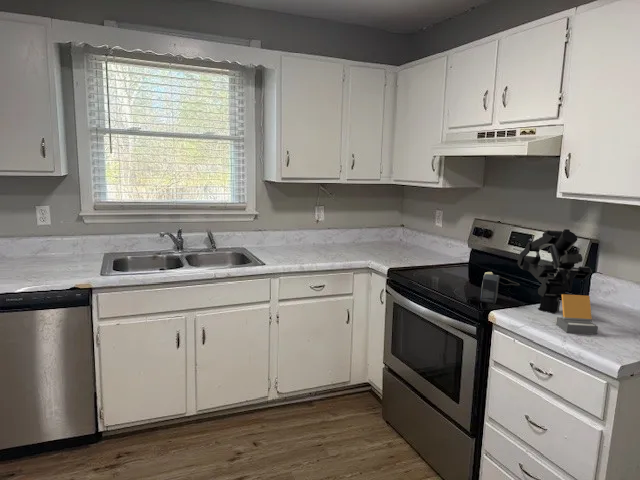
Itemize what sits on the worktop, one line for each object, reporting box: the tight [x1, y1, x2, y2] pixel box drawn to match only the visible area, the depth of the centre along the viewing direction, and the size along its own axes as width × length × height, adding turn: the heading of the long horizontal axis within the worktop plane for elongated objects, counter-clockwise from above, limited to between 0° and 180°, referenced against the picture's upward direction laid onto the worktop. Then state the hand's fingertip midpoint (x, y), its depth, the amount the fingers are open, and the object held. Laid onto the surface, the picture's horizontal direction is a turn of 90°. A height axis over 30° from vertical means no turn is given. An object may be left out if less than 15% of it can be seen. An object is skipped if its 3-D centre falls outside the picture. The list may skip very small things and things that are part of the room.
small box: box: [480, 273, 500, 305], centre depth 204 cm, size 11×6×10 cm, turn 155°
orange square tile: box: [561, 293, 593, 323], centre depth 172 cm, size 1×10×10 cm, turn 89°
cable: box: [483, 271, 521, 287], centre depth 238 cm, size 16×16×4 cm
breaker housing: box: [555, 317, 599, 335], centre depth 171 cm, size 8×11×3 cm
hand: (569, 290), depth 177 cm, fingers closed
